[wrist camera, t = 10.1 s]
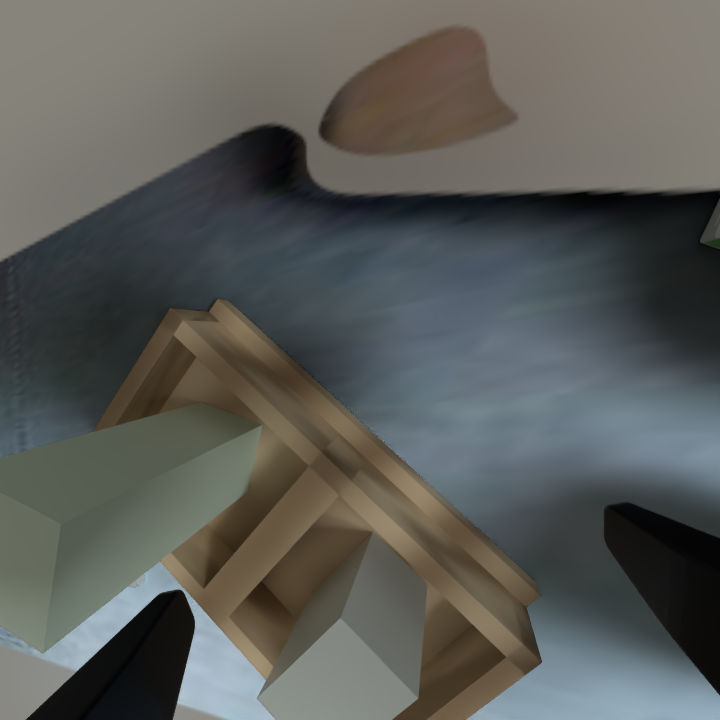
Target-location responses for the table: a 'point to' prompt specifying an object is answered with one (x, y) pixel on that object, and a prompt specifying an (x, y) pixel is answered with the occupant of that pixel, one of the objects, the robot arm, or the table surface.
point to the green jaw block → (110, 511)
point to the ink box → (713, 229)
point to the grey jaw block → (353, 643)
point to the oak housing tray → (326, 515)
